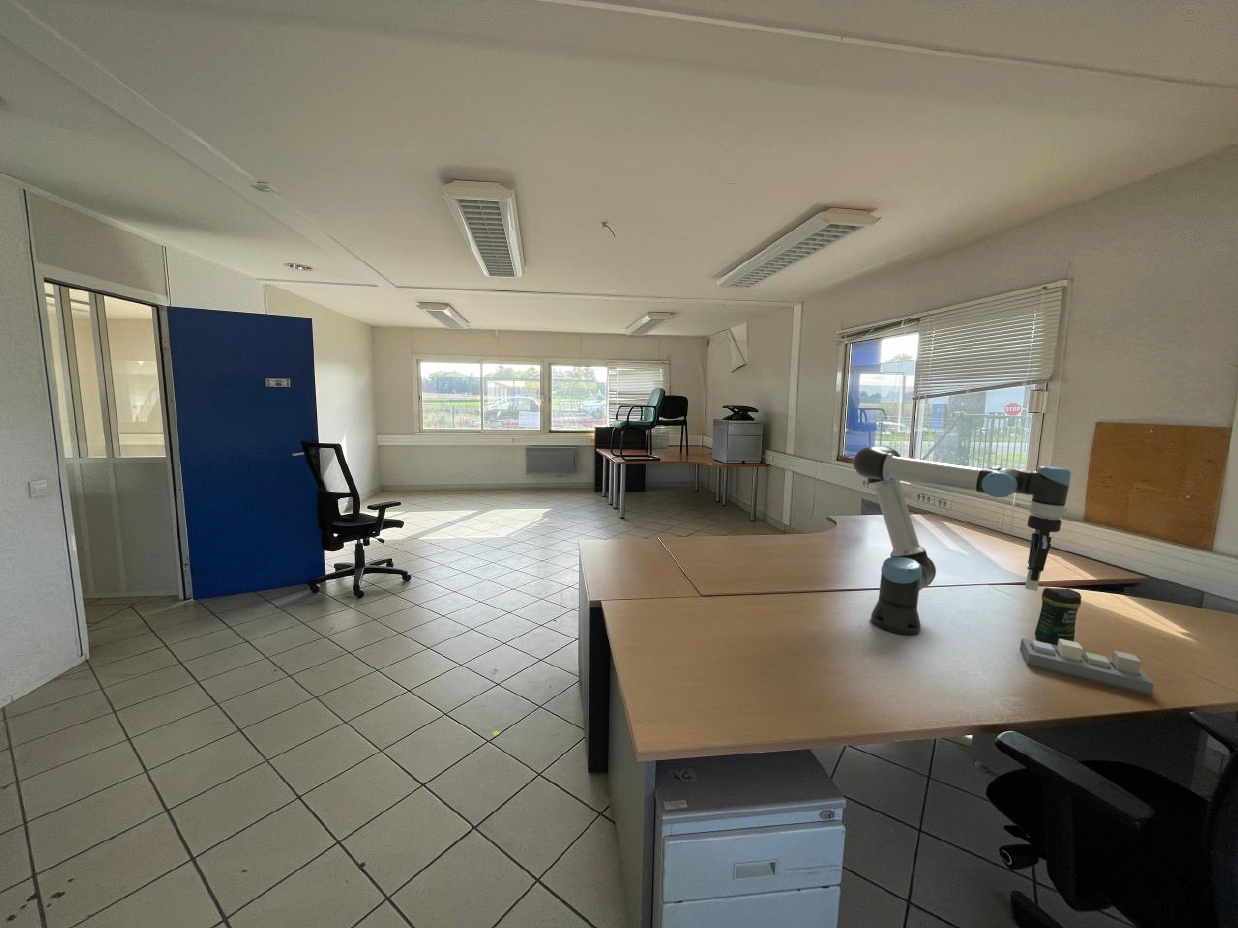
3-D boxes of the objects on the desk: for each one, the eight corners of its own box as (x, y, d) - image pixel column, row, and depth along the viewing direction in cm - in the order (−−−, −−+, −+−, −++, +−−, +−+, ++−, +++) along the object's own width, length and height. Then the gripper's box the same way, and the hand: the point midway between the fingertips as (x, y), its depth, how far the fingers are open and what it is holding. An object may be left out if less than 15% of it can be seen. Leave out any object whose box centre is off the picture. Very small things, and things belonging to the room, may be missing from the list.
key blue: (1033, 658, 144) (1035, 645, 143) (1030, 651, 147) (1032, 639, 147) (1052, 662, 141) (1054, 650, 141) (1048, 656, 145) (1050, 644, 144)
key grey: (1116, 670, 134) (1119, 657, 133) (1111, 663, 138) (1113, 650, 137) (1138, 675, 132) (1141, 661, 131) (1132, 667, 135) (1134, 655, 135)
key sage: (1086, 670, 137) (1089, 658, 137) (1082, 664, 141) (1084, 651, 141) (1107, 675, 135) (1109, 662, 135) (1102, 668, 139) (1104, 656, 138)
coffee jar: (1051, 647, 154) (1060, 593, 151) (1029, 635, 161) (1037, 584, 159) (1079, 647, 154) (1088, 594, 152) (1055, 635, 162) (1064, 584, 159)
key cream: (1060, 656, 140) (1062, 644, 140) (1056, 650, 144) (1058, 638, 143) (1080, 661, 138) (1082, 648, 137) (1076, 655, 142) (1078, 642, 141)
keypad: (1027, 666, 142) (1029, 653, 141) (1019, 649, 152) (1021, 637, 151) (1151, 696, 128) (1153, 683, 127) (1133, 675, 138) (1135, 663, 138)
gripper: (1067, 523, 136) (1051, 599, 140) (1056, 515, 147) (1042, 585, 151) (1033, 518, 140) (1018, 592, 144) (1025, 510, 151) (1012, 579, 155)
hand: (1030, 589), depth 147 cm, fingers closed
